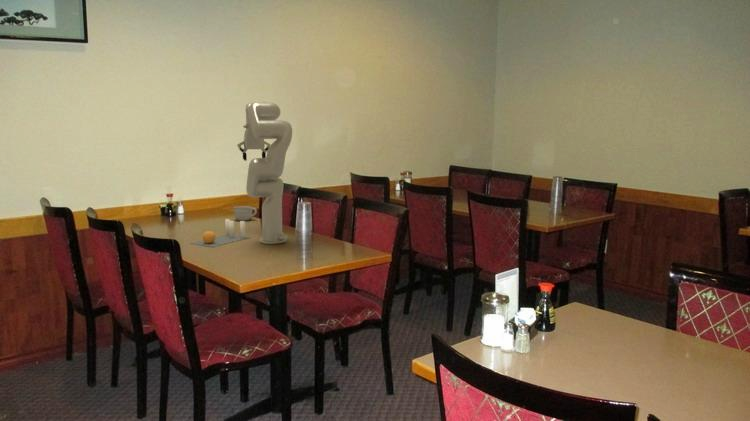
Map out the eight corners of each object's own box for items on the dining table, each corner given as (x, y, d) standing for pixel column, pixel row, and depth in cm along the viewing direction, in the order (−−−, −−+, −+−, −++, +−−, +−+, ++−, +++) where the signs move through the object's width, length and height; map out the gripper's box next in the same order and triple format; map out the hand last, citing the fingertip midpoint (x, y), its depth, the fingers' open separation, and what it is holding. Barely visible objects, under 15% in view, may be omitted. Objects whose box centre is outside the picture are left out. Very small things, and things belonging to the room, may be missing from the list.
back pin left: (246, 238, 293) (245, 221, 291) (242, 239, 291) (242, 222, 289) (242, 237, 294) (242, 220, 292) (239, 238, 292) (238, 221, 290)
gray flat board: (250, 237, 294) (250, 237, 294) (212, 247, 272) (212, 246, 272) (230, 234, 301) (230, 234, 301) (190, 243, 279) (190, 243, 279)
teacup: (230, 220, 339) (229, 207, 338) (242, 217, 349) (242, 204, 347) (248, 223, 333) (248, 209, 331) (261, 220, 342) (260, 206, 341)
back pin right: (231, 235, 298) (231, 219, 296) (228, 236, 296) (227, 220, 294) (228, 235, 299) (227, 218, 297) (224, 236, 297) (224, 219, 295)
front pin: (235, 237, 293) (234, 221, 292) (231, 238, 291) (231, 221, 290) (231, 237, 294) (231, 220, 293) (228, 238, 292) (227, 221, 291)
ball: (218, 243, 281) (218, 230, 280) (209, 245, 276) (208, 232, 275) (209, 241, 284) (209, 229, 283) (199, 243, 279) (199, 231, 278)
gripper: (238, 127, 299) (239, 161, 302) (271, 127, 306) (272, 160, 309) (235, 127, 305) (236, 160, 308) (268, 127, 313) (268, 159, 316)
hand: (254, 160), depth 309 cm, fingers open, 9 cm apart
